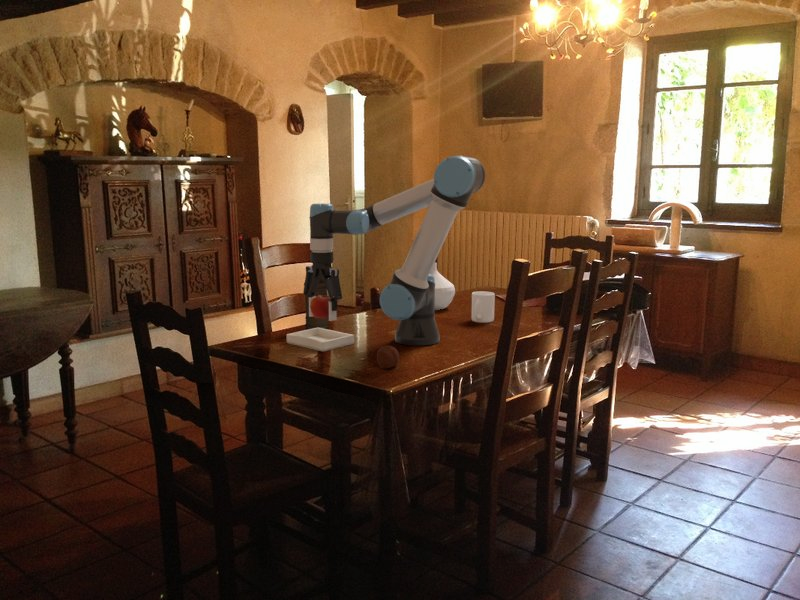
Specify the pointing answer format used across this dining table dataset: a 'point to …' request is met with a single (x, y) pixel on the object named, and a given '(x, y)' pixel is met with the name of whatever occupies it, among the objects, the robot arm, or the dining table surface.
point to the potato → (387, 357)
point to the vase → (442, 289)
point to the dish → (320, 339)
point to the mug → (483, 306)
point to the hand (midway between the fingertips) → (322, 318)
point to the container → (313, 321)
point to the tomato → (320, 306)
